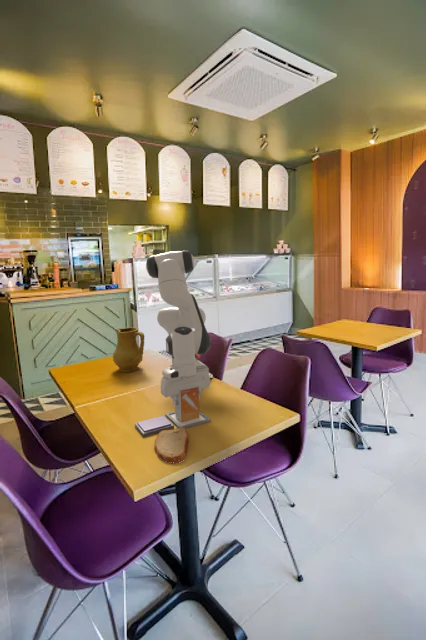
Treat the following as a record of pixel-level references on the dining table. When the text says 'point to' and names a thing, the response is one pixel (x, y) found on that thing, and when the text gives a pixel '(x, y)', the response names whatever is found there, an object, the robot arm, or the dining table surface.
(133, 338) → the pitcher
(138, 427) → the ink pad
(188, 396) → the small box
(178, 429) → the bread slice
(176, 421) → the print frame
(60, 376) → the dining table surface
